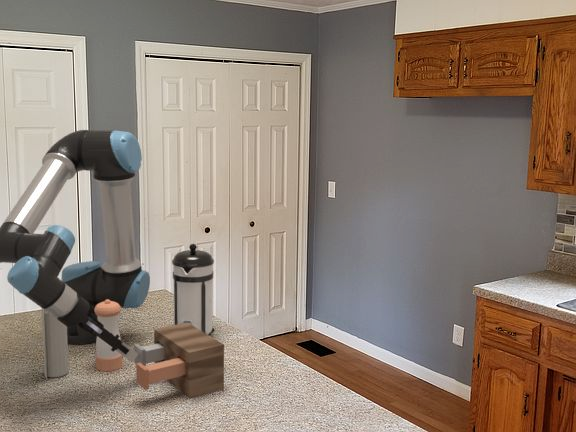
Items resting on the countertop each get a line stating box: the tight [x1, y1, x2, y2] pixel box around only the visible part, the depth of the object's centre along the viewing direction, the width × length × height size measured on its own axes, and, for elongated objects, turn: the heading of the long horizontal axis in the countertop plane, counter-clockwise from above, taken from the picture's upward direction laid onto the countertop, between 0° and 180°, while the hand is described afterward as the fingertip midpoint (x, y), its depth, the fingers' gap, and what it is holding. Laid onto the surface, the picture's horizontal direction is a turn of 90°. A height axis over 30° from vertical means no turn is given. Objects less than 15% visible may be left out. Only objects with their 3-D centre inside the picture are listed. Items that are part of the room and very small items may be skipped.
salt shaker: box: [94, 299, 124, 372], centre depth 174 cm, size 7×7×19 cm
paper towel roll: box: [41, 308, 69, 381], centre depth 168 cm, size 7×6×21 cm
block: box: [153, 323, 225, 399], centre depth 167 cm, size 20×10×12 cm, turn 37°
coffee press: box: [171, 243, 215, 335], centre depth 198 cm, size 17×16×30 cm
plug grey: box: [133, 343, 165, 366], centre depth 169 cm, size 5×14×5 cm, turn 127°
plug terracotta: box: [135, 357, 186, 391], centre depth 157 cm, size 5×14×5 cm, turn 127°
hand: (134, 357), depth 164 cm, fingers closed
